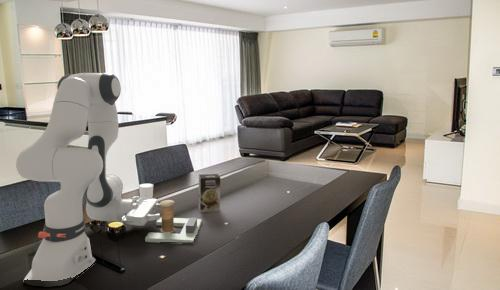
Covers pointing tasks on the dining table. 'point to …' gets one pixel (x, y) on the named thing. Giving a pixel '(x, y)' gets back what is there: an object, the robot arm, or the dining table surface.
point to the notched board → (186, 234)
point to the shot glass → (146, 190)
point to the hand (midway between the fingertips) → (163, 212)
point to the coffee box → (209, 193)
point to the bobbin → (167, 216)
